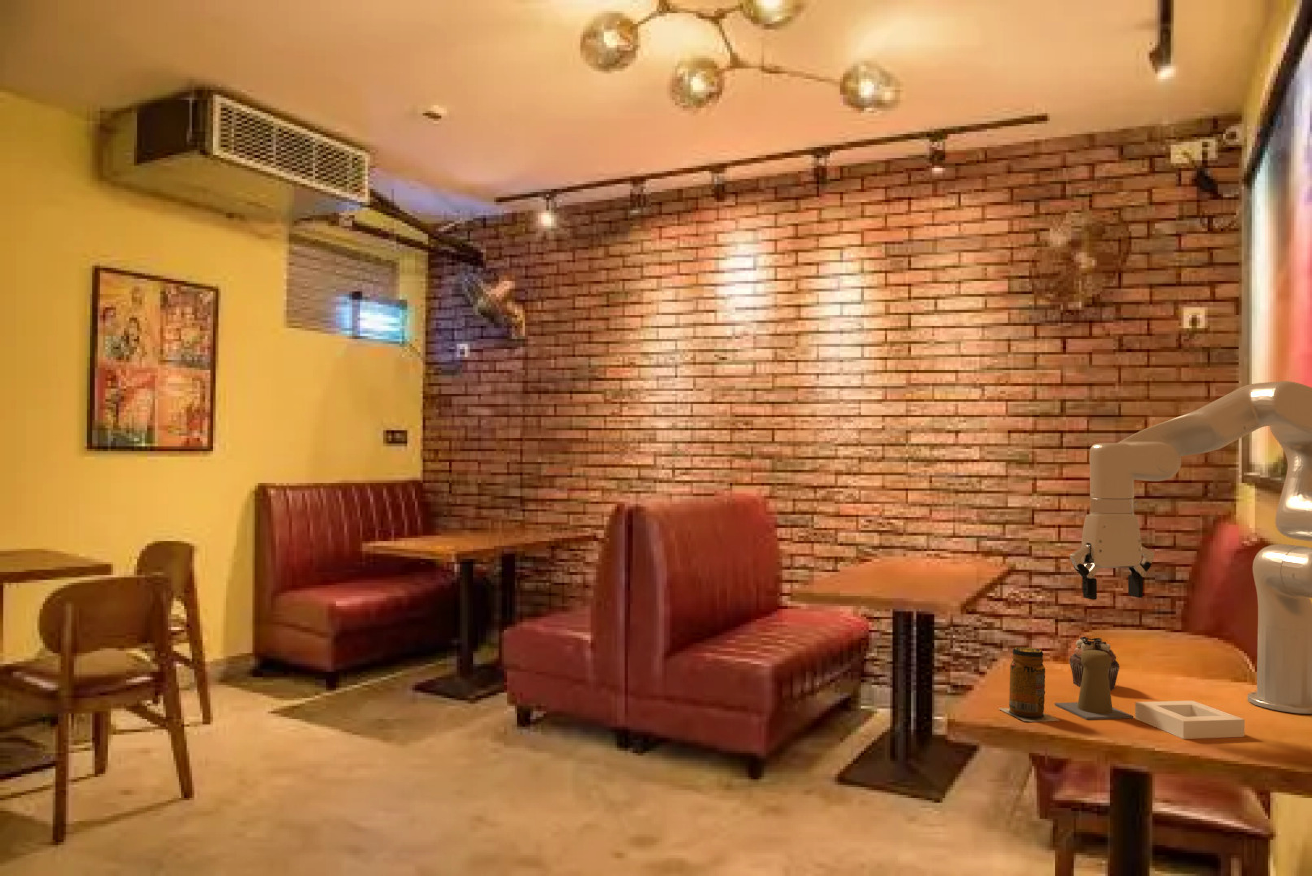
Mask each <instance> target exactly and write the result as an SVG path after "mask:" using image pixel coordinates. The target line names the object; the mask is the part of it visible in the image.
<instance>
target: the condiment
mask: <svg viewBox="0 0 1312 876" xmlns="http://www.w3.org/2000/svg"><path fill="white" fill-rule="evenodd" d="M1011 656H1012V661H1011V662H1010V666H1009V667H1010V669H1009V697H1008V698H1009V699H1008V700H1009V701H1008V707H1009V708H1008V707H999V708H998V709H999V710H1000V711H1002V712H1004V713H1006V714H1008V715H1009V716H1010V715H1011V716H1012V717H1015V718H1016V719H1019V720H1022V721H1023V722H1037V723H1038V722H1039V723H1040V722H1045V723H1046V722H1057V721H1058V722H1059V721H1061V720H1060V719H1058V718H1056V717H1054V716H1052V715H1050V714H1047V713H1046V712H1045V701H1046V700H1045V699H1046V698H1045V694H1046V689H1045V688H1046V667H1045V664H1044V657H1043V656H1044V652H1043V651H1042V650H1041V649H1039V648H1036V647H1035V648H1034V647H1026V646H1017V647H1014V648H1013V649H1012V655H1011ZM1044 712H1045V713H1044Z"/></svg>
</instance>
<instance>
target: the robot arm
mask: <svg viewBox="0 0 1312 876" xmlns="http://www.w3.org/2000/svg"><path fill="white" fill-rule="evenodd" d="M1264 427H1269V429H1270V432H1271V434H1272V436H1273V437H1274V438H1275V440H1276V441H1277V442H1278V444H1279V445H1280V447H1281V448H1282V451H1283V453H1284V454H1285V457H1286V462H1287V471H1286V474H1285V475H1286V476H1285V480H1284V483H1283V486H1282V491H1281V494H1280V497H1279V501H1278V505H1277V509H1276V513H1275V518H1274V519H1275V520H1274V522H1275V528H1276V529H1277V531H1278V532H1279V533H1280V534H1282V535H1283V536H1285V537H1287V538H1289V539H1292V540H1293V539H1294V540H1298V541H1299V540H1300V541H1305V542H1312V387H1311V386H1308V385H1306V384H1305V385H1304V384H1302V383H1299V382H1295V381H1289V380H1287V381H1286V380H1282V381H1271V382H1270V381H1268V382H1258V383H1251V384H1247V385H1244V386H1241V387H1239V388H1237V389H1235V390H1233V391H1231V392H1229V393H1228V394H1225V395H1224V396H1221V397H1219V398H1218V399H1215V400H1213V401H1211V402H1210V403H1208V404H1206V405H1204V406H1202V407H1199V408H1198V409H1196V410H1193V411H1191V412H1188V413H1186V414H1185V413H1184V414H1183V415H1180V416H1177V417H1173V418H1171V419H1169V420H1166V421H1164V422H1163V421H1162V422H1160V423H1157V424H1155V425H1151V426H1150V427H1147V428H1144V429H1142V430H1139V431H1137V432H1136V433H1133V434H1132V435H1130V436H1128V437H1126V438H1124V439H1122V440H1120V441H1118V442H1099V443H1094V444H1093V445H1092V446H1091V447H1090V449H1089V497H1090V498H1089V514H1086V515H1085V518H1084V522H1083V523H1084V524H1083V528H1082V533H1081V534H1082V535H1081V546H1080V548H1078V549H1077V550H1075V551H1073V552H1071V553H1070V554H1069V558H1070V561H1071V563H1072V565H1073V568H1074V570H1075V571H1076V572H1077V573H1078V575H1079V576H1080V578H1082V579H1081V580H1082V583H1081V584H1082V590H1081V591H1082V596H1083V598H1085V599H1088V600H1093V601H1094V600H1097V599H1098V588H1097V587H1098V584H1097V582H1098V580H1097V577H1095V576H1096V574H1097V573H1098V571H1099V570H1100V569H1116V568H1117V569H1120V568H1121V569H1122V568H1126V569H1127V570H1128V571H1129V572H1130V574H1128V576H1127V577H1128V578H1127V580H1128V581H1127V583H1128V585H1127V586H1128V587H1127V588H1128V589H1127V590H1128V592H1127V593H1128V594H1127V595H1128V596H1130V597H1133V598H1134V597H1135V598H1139V599H1141V598H1143V595H1144V594H1143V592H1144V578H1145V577H1146V576H1147V573H1148V571H1149V570H1150V568H1152V567H1151V566H1152V563H1153V560H1154V559H1155V555H1156V554H1155V552H1153V551H1152V550H1150V549H1148V548H1146V547H1144V546H1143V545H1142V538H1141V537H1142V536H1141V529H1140V525H1139V519H1138V515H1136V514H1135V509H1137V508H1138V507H1139V502H1138V501H1136V500H1135V499H1134V498H1135V480H1136V481H1144V482H1145V481H1147V482H1162V481H1167V480H1169V479H1172V477H1174V476H1175V475H1177V473H1179V471H1180V469H1181V466H1182V458H1181V457H1184V456H1193V455H1200V454H1205V453H1210V452H1214V451H1217V450H1221V449H1222V448H1224V447H1226V446H1228V445H1230V444H1231V443H1234V442H1236V441H1237V440H1240V439H1242V438H1244V437H1245V436H1247V435H1249V434H1251V433H1253V432H1256V431H1257V430H1258V429H1261V428H1264ZM1252 575H1253V579H1254V585H1255V589H1256V595H1257V656H1256V657H1257V663H1256V664H1257V665H1256V666H1257V667H1256V669H1257V671H1256V691H1252V692H1249V693H1248V694H1247V701H1248V702H1249V703H1251V704H1252V705H1255V706H1258V707H1261V708H1263V709H1268V710H1273V711H1279V712H1286V713H1289V714H1291V713H1292V714H1300V715H1301V714H1302V715H1304V714H1305V715H1312V601H1311V599H1312V547H1308V546H1302V545H1294V544H1287V543H1285V544H1284V543H1283V544H1282V543H1277V544H1271V545H1268V546H1264V547H1263V548H1261V549H1260V550H1258V552H1257V553H1256V555H1255V557H1254V559H1253V562H1252Z"/></svg>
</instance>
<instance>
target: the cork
mask: <svg viewBox="0 0 1312 876" xmlns="http://www.w3.org/2000/svg"><path fill="white" fill-rule="evenodd" d="M1081 663H1082V665H1083V667H1084V669H1083V676H1082V682H1081V687H1080V689H1079V695H1078V701H1077V702H1078V706H1077V707H1078V709H1080V710H1083V711H1086V712H1090V713H1097V714H1109V713H1112V712H1113V710H1112V707H1113V704H1112V696H1111V695H1112V694H1111V690H1110V685H1109V677H1108V669H1109V668H1110V666H1111V658H1110V656H1109V654H1107V653H1106V652H1103V651H1099V650H1086V651H1084V652H1083V653H1082V655H1081Z"/></svg>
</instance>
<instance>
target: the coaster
mask: <svg viewBox="0 0 1312 876" xmlns="http://www.w3.org/2000/svg"><path fill="white" fill-rule="evenodd" d="M1054 706H1056V707H1058V708H1060V709H1062V710H1065V711H1066V712H1069V713H1071V714H1074V715H1076V716H1078V717H1080V718H1082V719H1084V720H1088V721H1089V720H1117V719H1134V715H1132V714H1129V713H1127V712H1126V711H1122V710H1119V709H1118V708H1115V707H1113V706H1112V710H1113V712H1112V713H1109V714H1097V713H1090V712H1086V711H1083V710H1080V709H1078V707H1077V706H1078V701H1077V702H1054Z"/></svg>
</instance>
